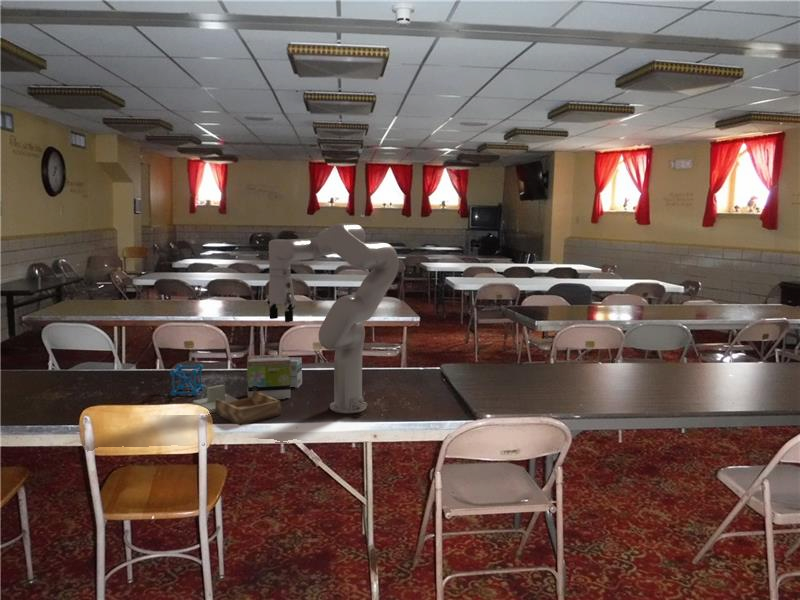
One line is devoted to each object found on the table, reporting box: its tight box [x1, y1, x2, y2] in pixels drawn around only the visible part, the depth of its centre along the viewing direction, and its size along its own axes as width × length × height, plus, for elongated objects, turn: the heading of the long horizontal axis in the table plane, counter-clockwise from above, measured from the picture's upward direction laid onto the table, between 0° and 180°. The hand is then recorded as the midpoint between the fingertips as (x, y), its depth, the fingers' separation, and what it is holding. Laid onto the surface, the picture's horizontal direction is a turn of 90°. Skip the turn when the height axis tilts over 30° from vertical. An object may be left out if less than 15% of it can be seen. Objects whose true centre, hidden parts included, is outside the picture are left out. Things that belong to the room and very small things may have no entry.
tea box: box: [246, 354, 291, 400], centre depth 224 cm, size 15×10×15 cm
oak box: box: [215, 391, 282, 426], centre depth 205 cm, size 16×15×5 cm
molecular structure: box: [169, 363, 205, 397], centre depth 228 cm, size 10×10×10 cm
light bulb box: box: [288, 356, 303, 389], centre depth 239 cm, size 11×7×11 cm, turn 84°
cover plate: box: [192, 384, 239, 412], centre depth 213 cm, size 13×12×6 cm
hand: (281, 320), depth 225 cm, fingers open, 9 cm apart
